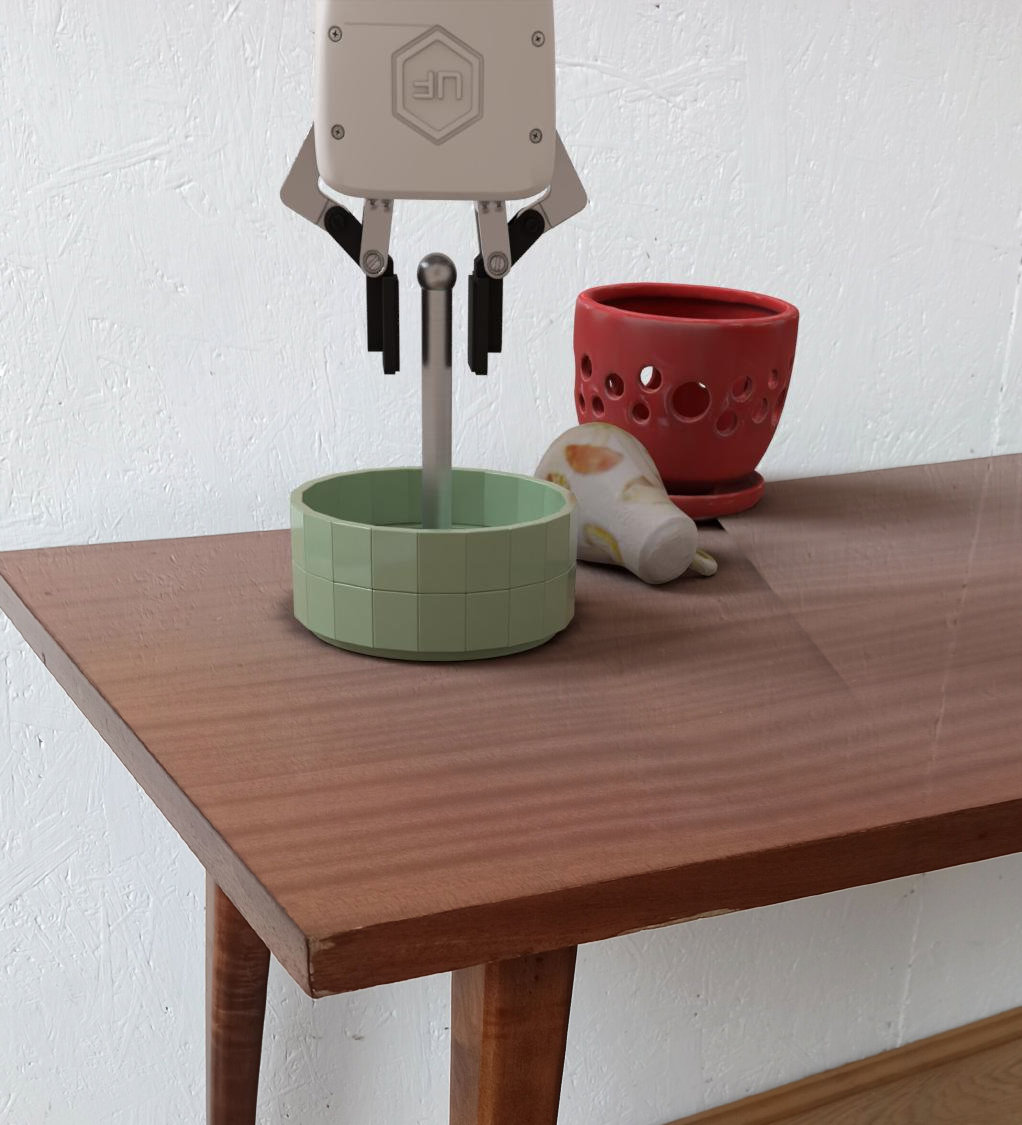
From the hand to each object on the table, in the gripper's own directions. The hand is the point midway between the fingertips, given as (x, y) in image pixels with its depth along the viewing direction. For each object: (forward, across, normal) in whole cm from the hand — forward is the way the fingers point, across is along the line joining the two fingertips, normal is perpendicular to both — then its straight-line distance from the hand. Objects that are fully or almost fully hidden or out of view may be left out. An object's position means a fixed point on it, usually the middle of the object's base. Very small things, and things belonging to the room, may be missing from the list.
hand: (434, 365), depth 81 cm
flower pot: (+12, +16, +24) cm, 31 cm away
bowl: (+12, 0, 0) cm, 12 cm away
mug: (+12, +11, +10) cm, 19 cm away
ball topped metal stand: (+11, 0, 0) cm, 11 cm away
